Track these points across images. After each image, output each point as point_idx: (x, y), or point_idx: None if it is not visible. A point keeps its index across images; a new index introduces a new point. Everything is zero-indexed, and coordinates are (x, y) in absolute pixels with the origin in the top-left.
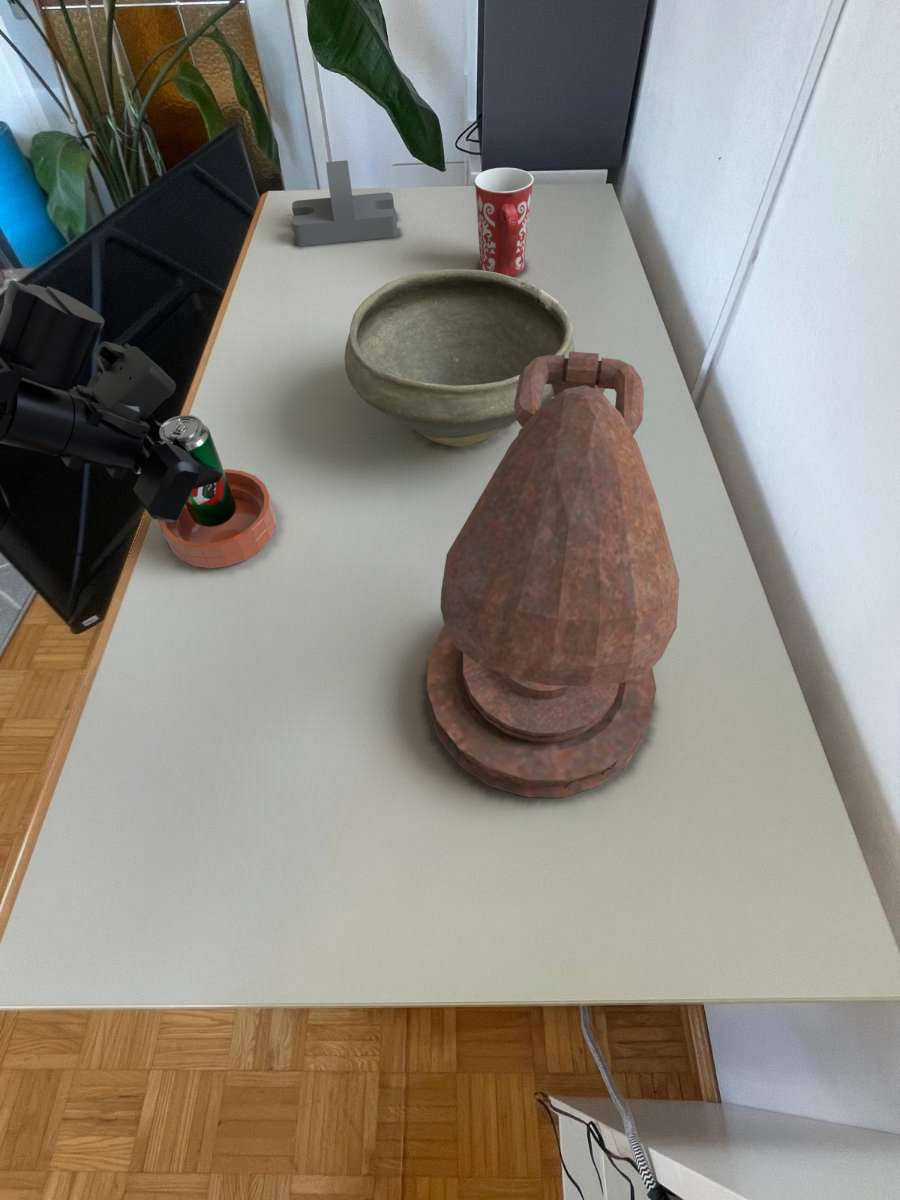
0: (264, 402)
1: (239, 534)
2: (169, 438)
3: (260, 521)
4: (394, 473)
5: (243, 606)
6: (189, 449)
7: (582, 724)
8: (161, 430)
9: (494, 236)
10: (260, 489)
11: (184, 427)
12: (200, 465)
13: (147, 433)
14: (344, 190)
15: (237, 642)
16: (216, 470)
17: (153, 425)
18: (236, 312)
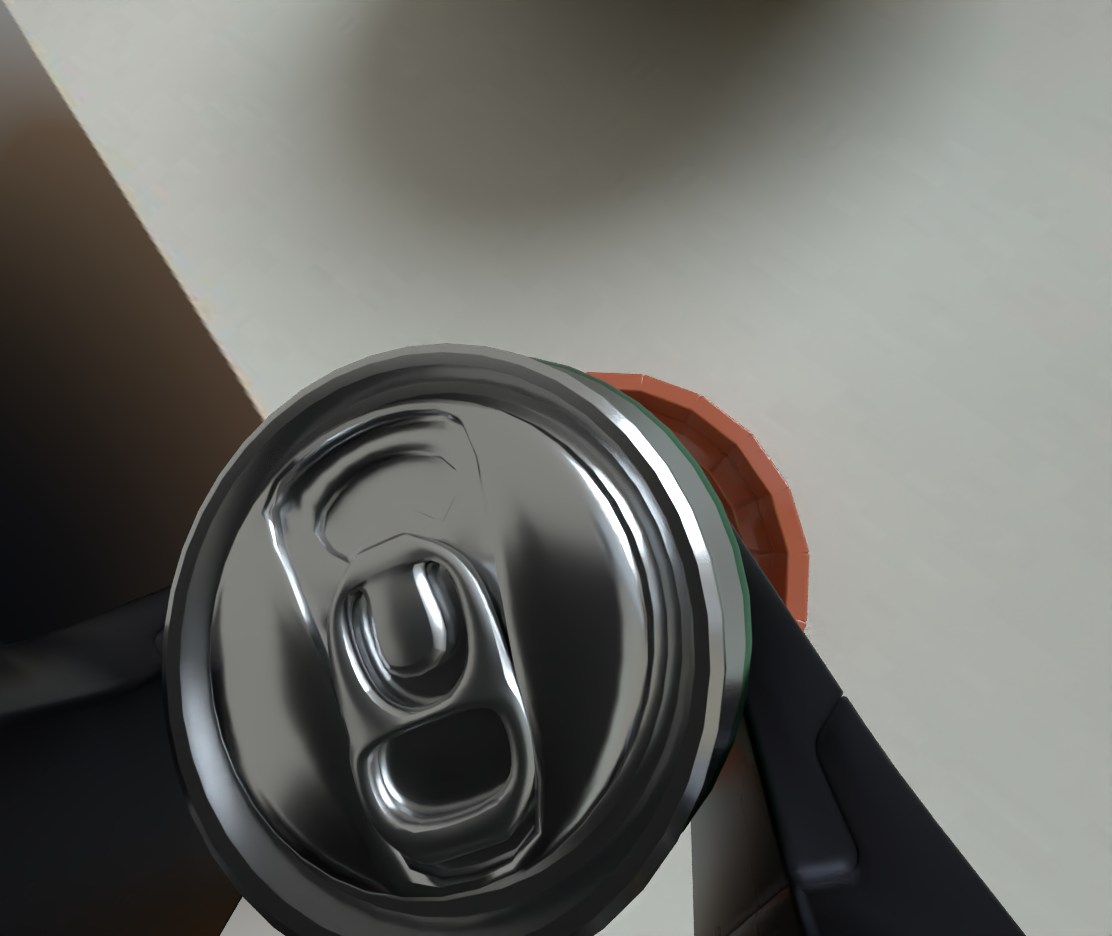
0: (327, 194)
1: (789, 597)
2: (442, 891)
3: (793, 501)
4: (808, 99)
5: (919, 736)
6: (725, 750)
7: None
8: (231, 800)
9: None
10: (636, 397)
11: (428, 573)
12: (871, 736)
13: (145, 793)
14: None
15: (1051, 868)
16: (744, 551)
17: (109, 725)
18: (75, 81)
